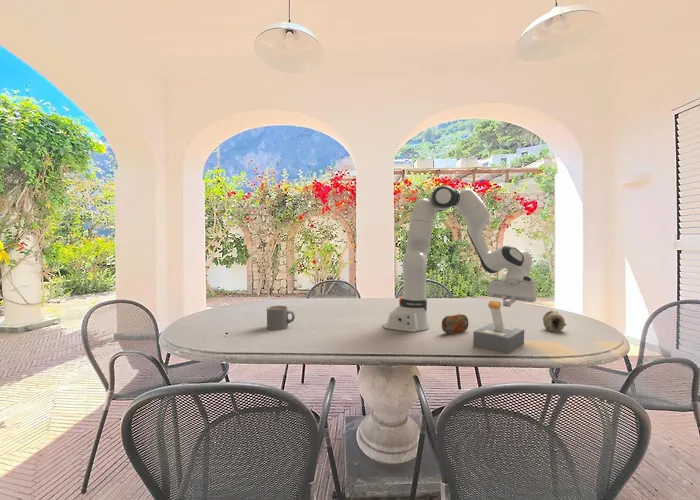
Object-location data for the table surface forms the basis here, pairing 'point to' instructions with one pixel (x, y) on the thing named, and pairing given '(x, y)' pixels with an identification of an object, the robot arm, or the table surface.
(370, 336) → the table surface
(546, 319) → the beige hollow lumpy pot
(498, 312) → the breaker lever
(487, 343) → the switch box
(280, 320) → the coffee mug
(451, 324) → the tin
